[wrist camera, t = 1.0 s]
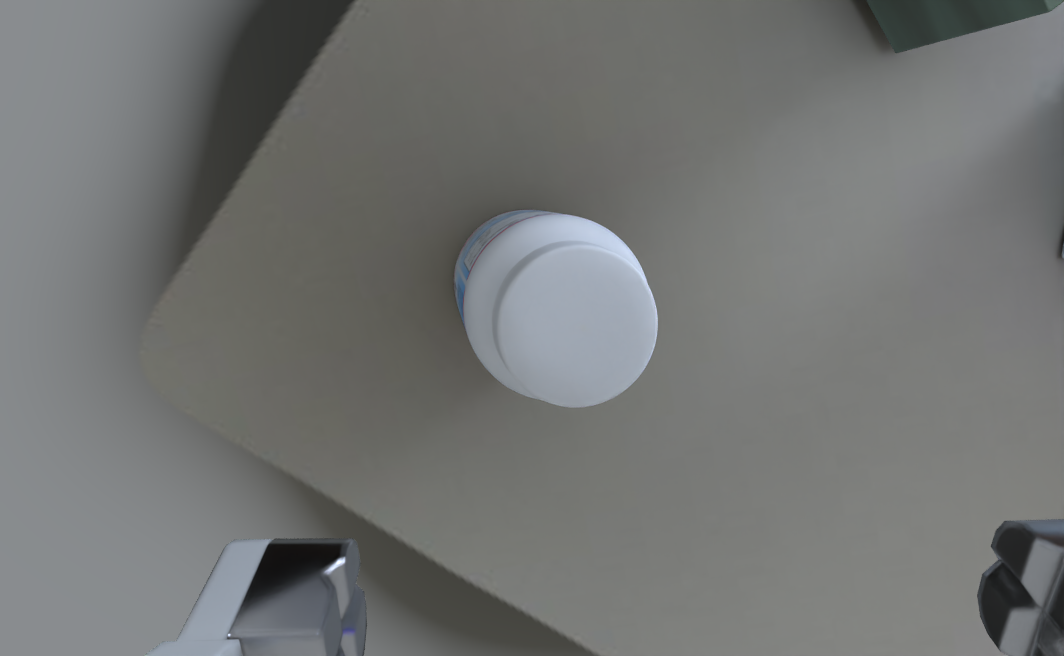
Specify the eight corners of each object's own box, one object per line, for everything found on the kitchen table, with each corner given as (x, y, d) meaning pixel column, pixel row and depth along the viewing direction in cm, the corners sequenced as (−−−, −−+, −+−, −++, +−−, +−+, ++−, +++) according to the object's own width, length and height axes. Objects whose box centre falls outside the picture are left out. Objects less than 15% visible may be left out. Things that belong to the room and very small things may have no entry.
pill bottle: (579, 359, 33) (658, 448, 22) (441, 336, 32) (451, 417, 21) (609, 222, 32) (707, 243, 21) (467, 193, 31) (492, 199, 20)
